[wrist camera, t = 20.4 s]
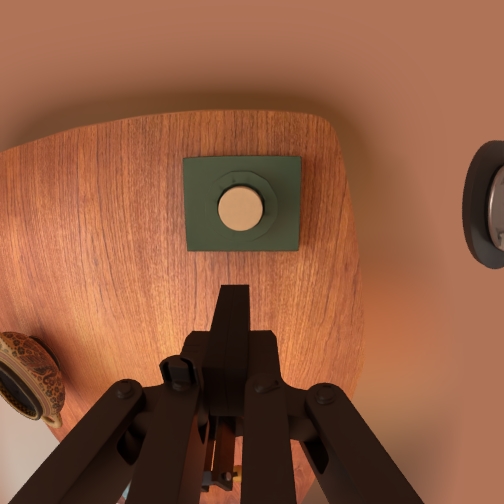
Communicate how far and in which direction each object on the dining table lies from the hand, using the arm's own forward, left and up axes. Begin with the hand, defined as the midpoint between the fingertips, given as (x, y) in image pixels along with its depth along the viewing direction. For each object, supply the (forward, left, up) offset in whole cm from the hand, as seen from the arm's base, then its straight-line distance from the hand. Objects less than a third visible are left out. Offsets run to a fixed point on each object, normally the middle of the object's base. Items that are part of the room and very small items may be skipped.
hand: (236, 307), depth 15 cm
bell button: (0, -4, -13) cm, 14 cm away
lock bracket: (+5, +33, -17) cm, 37 cm away
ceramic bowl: (+40, +24, -17) cm, 50 cm away
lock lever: (+4, +36, -8) cm, 37 cm away
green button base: (0, -3, -17) cm, 17 cm away
